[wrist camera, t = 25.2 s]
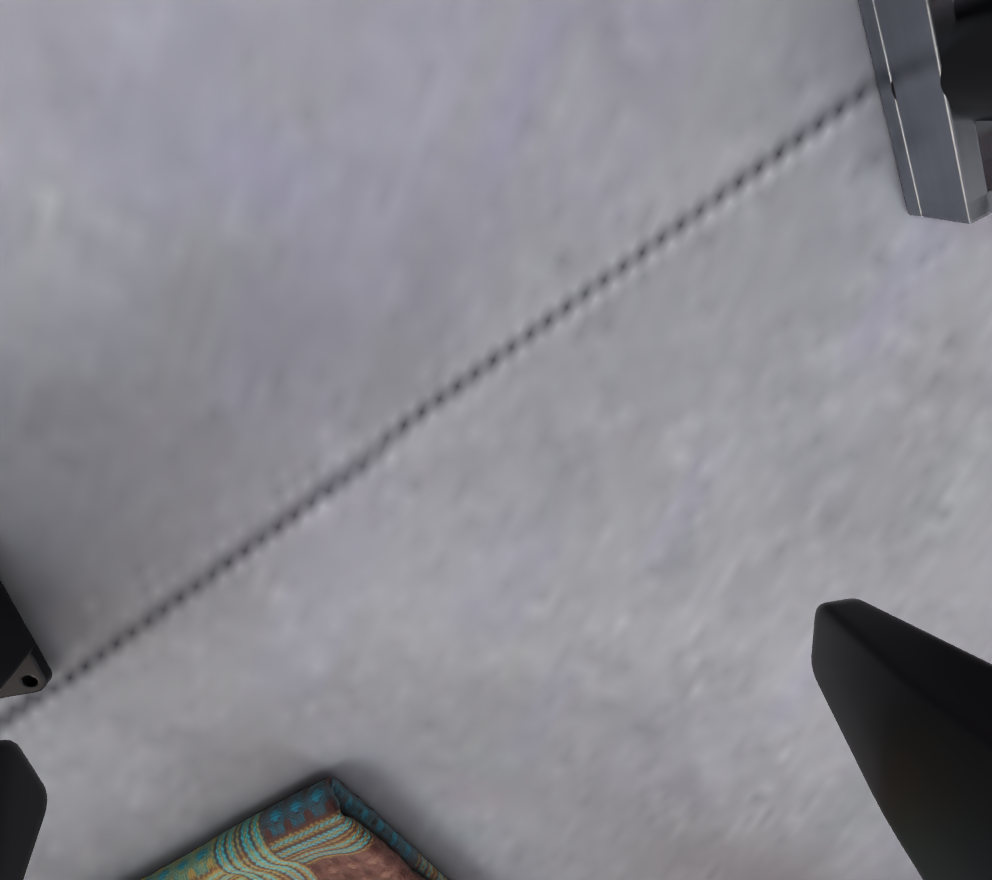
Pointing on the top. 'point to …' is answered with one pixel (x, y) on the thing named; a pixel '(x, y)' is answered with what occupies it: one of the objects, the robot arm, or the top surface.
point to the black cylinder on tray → (936, 100)
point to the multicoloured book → (306, 844)
